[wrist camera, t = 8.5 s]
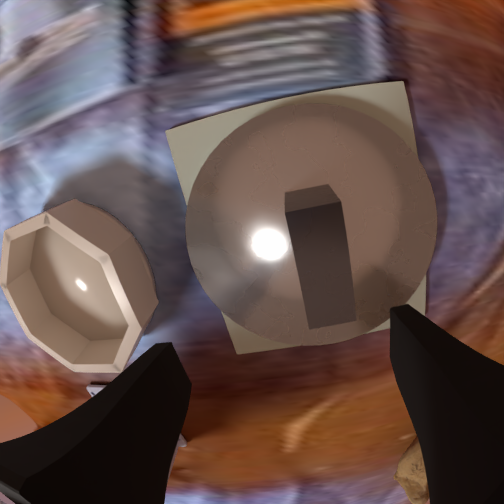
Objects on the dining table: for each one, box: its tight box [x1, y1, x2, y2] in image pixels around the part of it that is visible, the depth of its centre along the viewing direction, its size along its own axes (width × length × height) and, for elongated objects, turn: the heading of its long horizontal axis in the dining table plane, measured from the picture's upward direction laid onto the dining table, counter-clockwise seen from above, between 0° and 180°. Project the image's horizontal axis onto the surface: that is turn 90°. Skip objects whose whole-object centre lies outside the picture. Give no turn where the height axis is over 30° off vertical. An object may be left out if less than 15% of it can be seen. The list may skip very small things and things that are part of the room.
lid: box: [185, 103, 437, 346], centre depth 16 cm, size 15×15×5 cm
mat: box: [165, 81, 426, 354], centre depth 19 cm, size 16×14×1 cm
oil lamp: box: [394, 437, 429, 504], centre depth 21 cm, size 11×15×8 cm
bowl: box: [0, 198, 159, 373], centre depth 20 cm, size 12×12×4 cm
